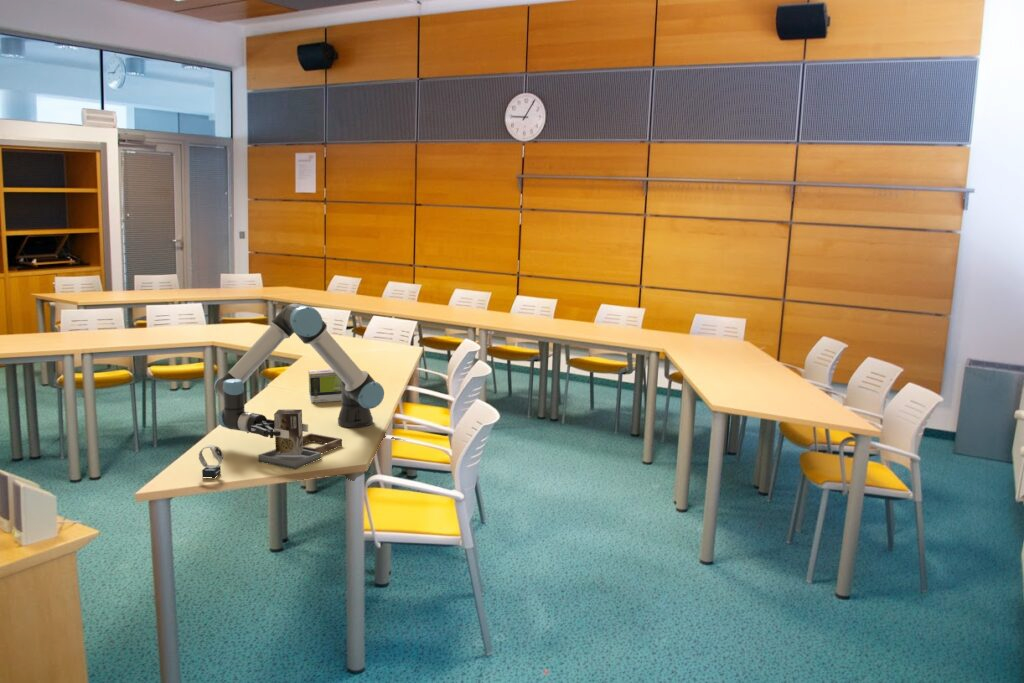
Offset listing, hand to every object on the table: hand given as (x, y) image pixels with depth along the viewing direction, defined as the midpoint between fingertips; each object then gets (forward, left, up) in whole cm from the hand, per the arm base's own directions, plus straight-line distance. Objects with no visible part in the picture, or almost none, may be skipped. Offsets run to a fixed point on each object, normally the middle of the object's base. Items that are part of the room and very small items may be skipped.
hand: (297, 431), depth 293 cm
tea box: (-81, -56, -12) cm, 100 cm away
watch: (+27, -15, -12) cm, 33 cm away
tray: (0, -4, -12) cm, 13 cm away
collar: (-16, -7, -12) cm, 21 cm away
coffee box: (0, -5, -9) cm, 10 cm away
